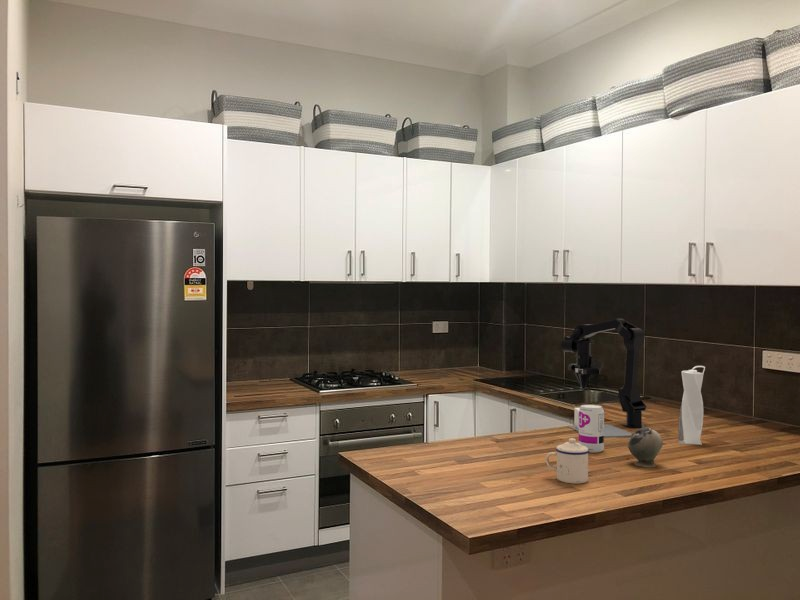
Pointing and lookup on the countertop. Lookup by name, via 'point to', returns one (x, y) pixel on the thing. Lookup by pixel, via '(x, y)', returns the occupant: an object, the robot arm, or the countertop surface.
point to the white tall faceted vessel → (691, 408)
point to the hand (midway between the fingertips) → (583, 388)
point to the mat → (610, 431)
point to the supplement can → (591, 427)
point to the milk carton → (576, 417)
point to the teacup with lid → (571, 462)
